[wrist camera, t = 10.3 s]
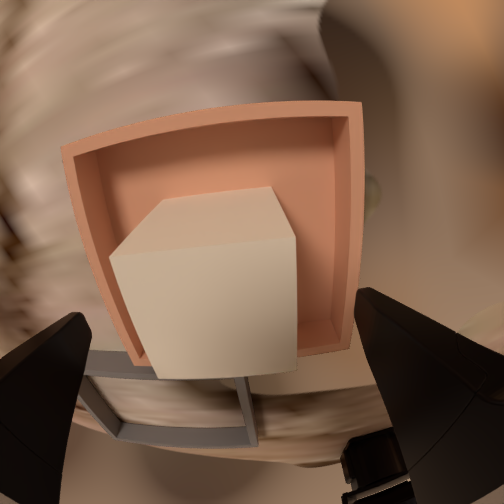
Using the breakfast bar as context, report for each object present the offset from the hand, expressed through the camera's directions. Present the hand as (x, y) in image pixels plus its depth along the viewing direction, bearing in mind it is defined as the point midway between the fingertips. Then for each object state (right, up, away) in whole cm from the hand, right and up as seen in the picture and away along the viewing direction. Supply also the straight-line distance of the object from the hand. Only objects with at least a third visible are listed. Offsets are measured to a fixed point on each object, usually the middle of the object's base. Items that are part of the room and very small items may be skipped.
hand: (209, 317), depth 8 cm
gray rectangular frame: (-6, -10, +11) cm, 16 cm away
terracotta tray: (0, +3, +6) cm, 6 cm away
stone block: (0, +2, +5) cm, 6 cm away
